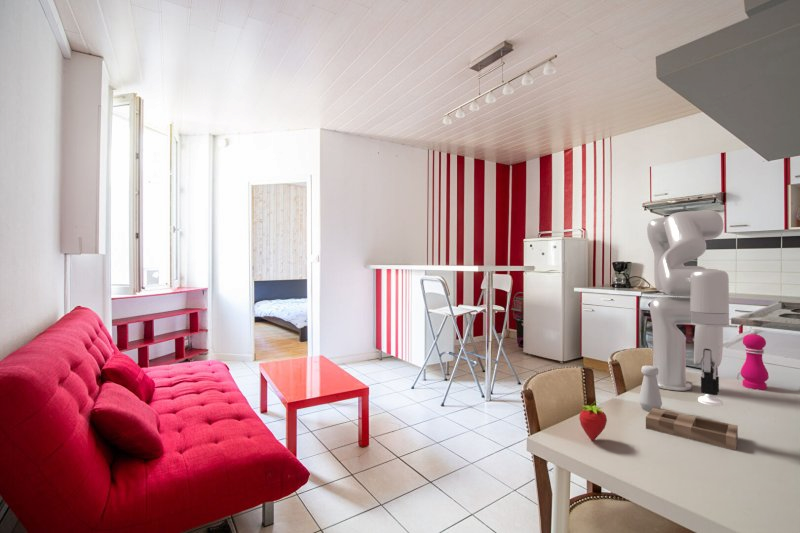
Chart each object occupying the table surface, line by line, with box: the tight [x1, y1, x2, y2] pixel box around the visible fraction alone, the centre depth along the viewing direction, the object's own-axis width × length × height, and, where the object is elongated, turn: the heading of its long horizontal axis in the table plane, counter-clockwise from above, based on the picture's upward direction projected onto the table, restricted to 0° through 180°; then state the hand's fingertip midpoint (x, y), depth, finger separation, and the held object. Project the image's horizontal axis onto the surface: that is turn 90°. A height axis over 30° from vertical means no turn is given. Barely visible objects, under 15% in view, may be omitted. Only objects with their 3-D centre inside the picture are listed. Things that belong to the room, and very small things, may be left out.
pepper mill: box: [740, 329, 769, 391], centre depth 134 cm, size 7×7×20 cm
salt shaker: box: [638, 364, 663, 413], centre depth 115 cm, size 6×6×13 cm
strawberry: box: [578, 401, 608, 441], centre depth 96 cm, size 6×8×10 cm
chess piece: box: [697, 365, 724, 407], centre depth 96 cm, size 5×5×10 cm
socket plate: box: [645, 408, 739, 451], centre depth 99 cm, size 9×18×3 cm, turn 46°
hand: (710, 392), depth 96 cm, fingers closed on chess piece
